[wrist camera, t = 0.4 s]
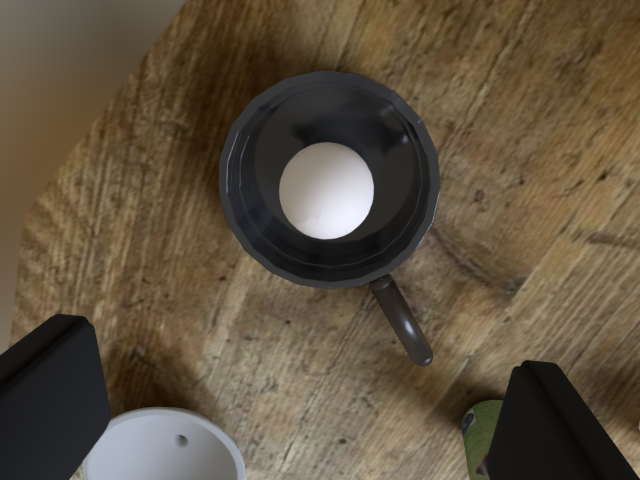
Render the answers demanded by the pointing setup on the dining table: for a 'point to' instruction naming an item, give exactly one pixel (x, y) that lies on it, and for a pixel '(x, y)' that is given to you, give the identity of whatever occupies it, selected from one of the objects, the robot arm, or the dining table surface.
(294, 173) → the egg
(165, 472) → the dish
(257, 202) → the pan
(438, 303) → the dining table surface
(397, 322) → the pan handle
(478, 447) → the beverage can
